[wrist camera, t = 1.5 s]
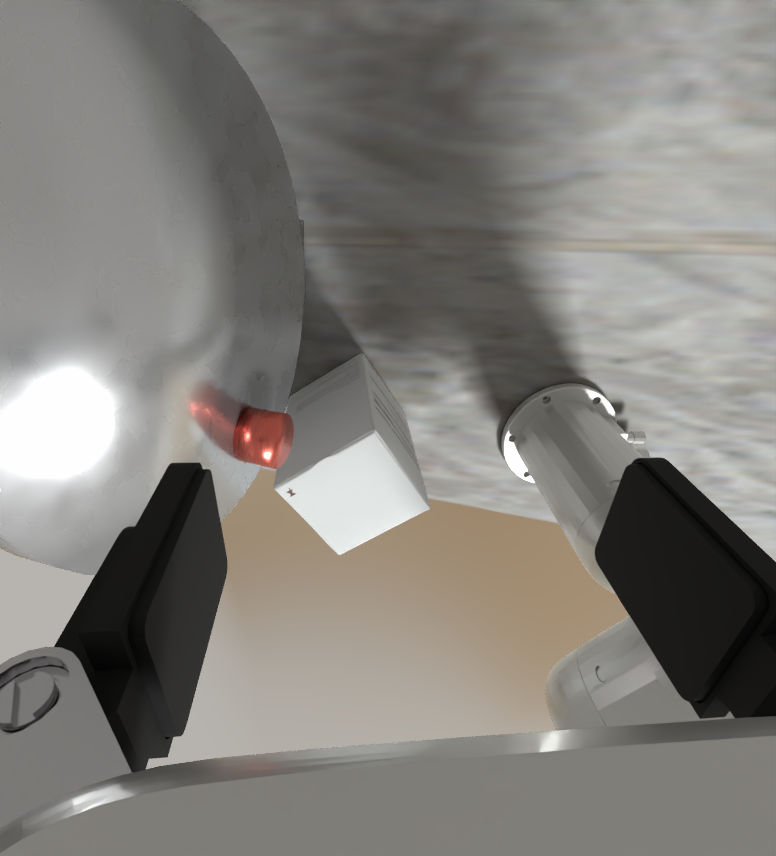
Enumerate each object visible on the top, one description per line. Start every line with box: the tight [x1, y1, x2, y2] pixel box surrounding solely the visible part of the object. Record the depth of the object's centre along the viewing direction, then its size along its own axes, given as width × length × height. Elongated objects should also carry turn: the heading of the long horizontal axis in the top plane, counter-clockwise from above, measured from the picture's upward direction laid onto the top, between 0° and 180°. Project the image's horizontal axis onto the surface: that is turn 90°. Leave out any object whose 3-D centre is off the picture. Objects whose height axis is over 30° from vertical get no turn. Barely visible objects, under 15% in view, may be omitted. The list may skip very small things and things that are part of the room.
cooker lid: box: [0, 0, 304, 575], centre depth 19 cm, size 23×21×4 cm
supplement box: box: [274, 353, 430, 555], centre depth 41 cm, size 9×9×15 cm
